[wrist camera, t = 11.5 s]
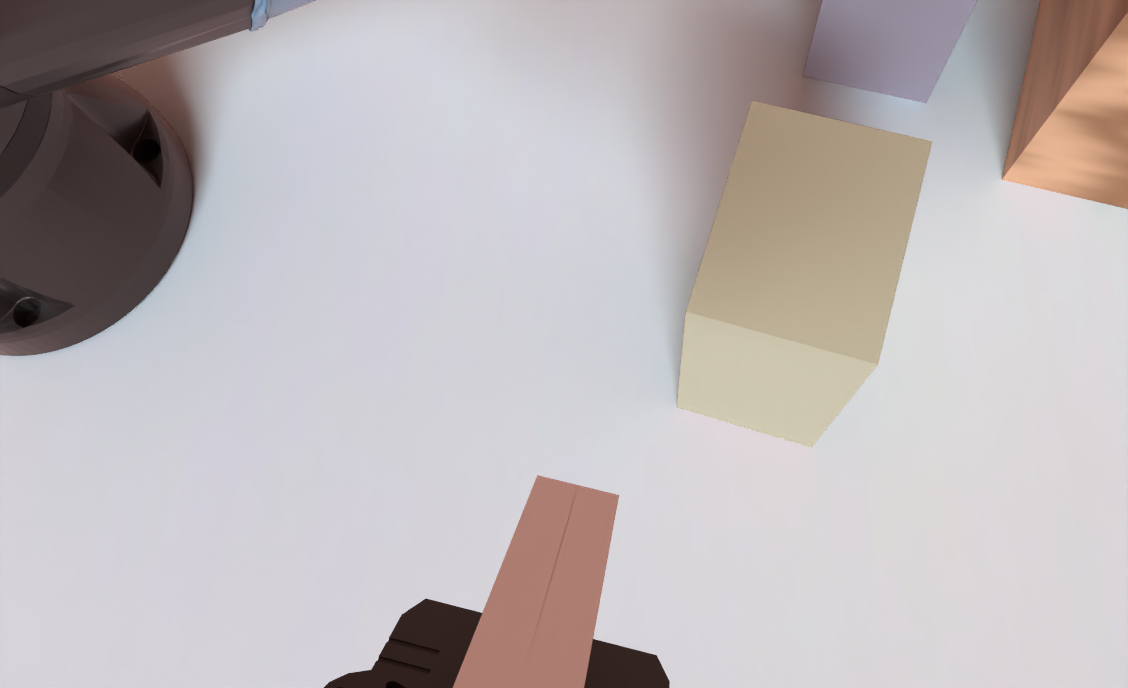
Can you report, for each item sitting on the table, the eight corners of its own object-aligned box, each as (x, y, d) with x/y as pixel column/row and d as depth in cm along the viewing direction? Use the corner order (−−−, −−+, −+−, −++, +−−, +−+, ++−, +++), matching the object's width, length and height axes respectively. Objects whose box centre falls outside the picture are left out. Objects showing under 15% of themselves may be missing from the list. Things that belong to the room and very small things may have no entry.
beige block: (676, 407, 39) (685, 311, 28) (725, 248, 42) (751, 100, 30) (811, 447, 38) (877, 364, 27) (854, 282, 40) (932, 141, 29)
